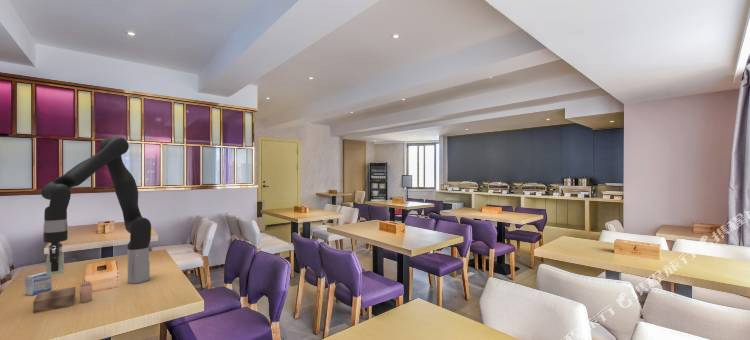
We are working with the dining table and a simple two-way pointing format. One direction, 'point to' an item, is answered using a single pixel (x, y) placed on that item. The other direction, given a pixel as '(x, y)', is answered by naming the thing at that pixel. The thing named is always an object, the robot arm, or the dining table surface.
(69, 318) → the dining table surface
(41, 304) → the walnut block
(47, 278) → the medicine box
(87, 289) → the terracotta shaker
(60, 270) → the green block
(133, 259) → the robot arm
